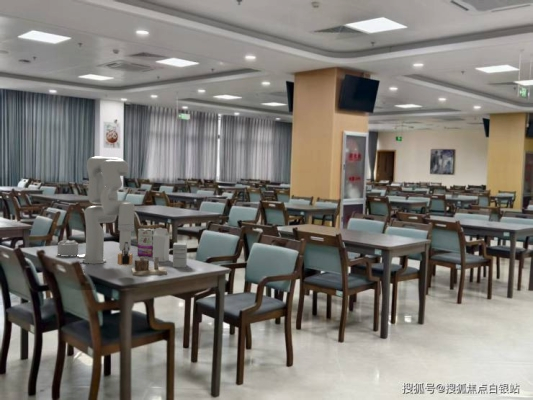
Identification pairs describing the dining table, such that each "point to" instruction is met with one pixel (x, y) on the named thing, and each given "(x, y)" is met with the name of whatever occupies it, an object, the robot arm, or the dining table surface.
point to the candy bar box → (145, 242)
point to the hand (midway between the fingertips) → (124, 262)
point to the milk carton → (161, 244)
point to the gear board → (147, 267)
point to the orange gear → (121, 259)
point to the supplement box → (179, 254)
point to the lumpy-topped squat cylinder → (68, 247)
